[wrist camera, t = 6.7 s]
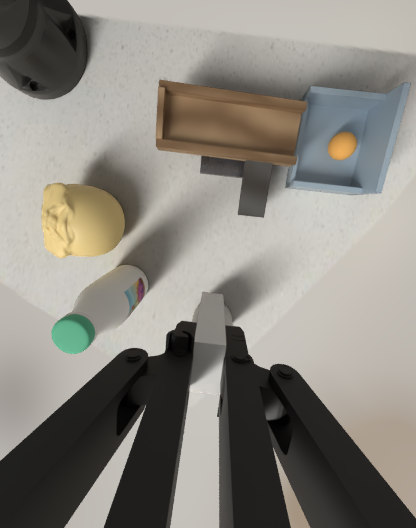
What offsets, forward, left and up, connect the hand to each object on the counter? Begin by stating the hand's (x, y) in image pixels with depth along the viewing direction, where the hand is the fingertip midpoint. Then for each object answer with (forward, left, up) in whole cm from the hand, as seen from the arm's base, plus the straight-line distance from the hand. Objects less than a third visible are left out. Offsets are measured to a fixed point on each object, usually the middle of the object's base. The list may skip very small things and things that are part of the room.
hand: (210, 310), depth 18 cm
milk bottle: (-6, -17, -29) cm, 34 cm away
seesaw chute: (-9, +11, -23) cm, 27 cm away
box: (+1, +25, -28) cm, 38 cm away
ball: (+2, +25, -26) cm, 36 cm away
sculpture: (-18, -12, -29) cm, 36 cm away
